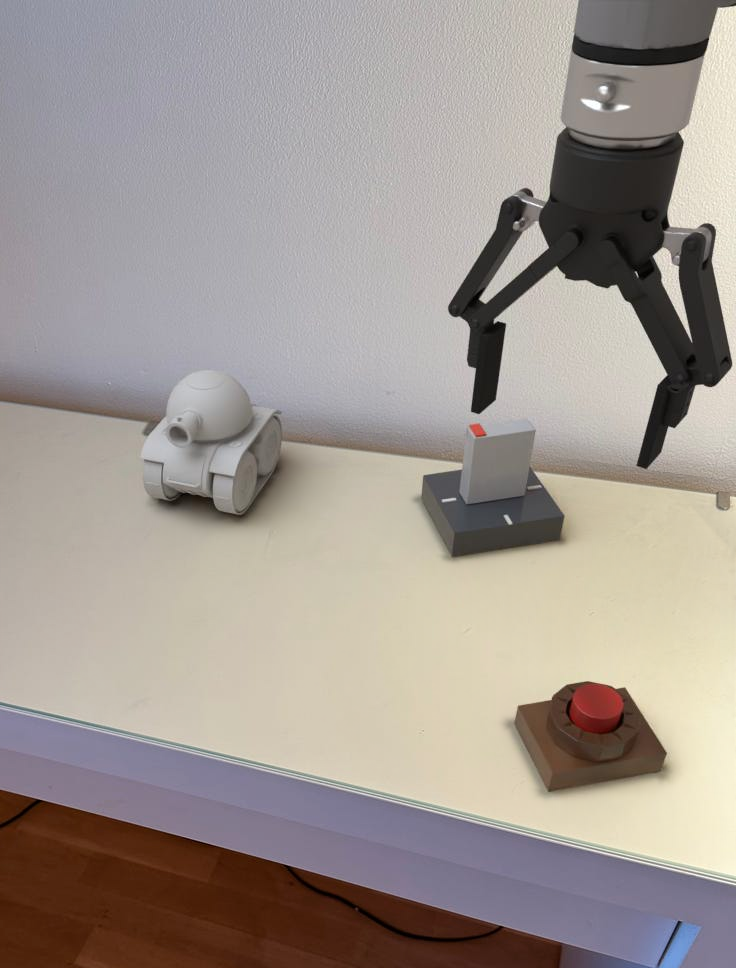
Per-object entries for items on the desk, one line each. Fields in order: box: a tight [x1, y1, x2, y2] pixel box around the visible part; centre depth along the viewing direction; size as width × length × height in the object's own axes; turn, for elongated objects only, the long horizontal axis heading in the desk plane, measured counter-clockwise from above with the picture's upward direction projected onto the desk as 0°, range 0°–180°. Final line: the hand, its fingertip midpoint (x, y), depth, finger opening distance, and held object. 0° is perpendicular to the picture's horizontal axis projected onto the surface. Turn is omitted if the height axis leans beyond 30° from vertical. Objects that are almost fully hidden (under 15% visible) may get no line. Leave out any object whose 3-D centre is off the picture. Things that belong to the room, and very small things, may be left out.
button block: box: [513, 680, 668, 792], centre depth 74 cm, size 9×7×4 cm
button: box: [570, 683, 623, 734], centre depth 72 cm, size 4×4×2 cm
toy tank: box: [139, 369, 283, 516], centre depth 100 cm, size 15×11×13 cm
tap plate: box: [420, 466, 566, 558], centre depth 96 cm, size 11×10×3 cm
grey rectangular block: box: [459, 417, 536, 504], centre depth 92 cm, size 6×2×8 cm, turn 100°
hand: (562, 431), depth 74 cm, fingers open, 13 cm apart
